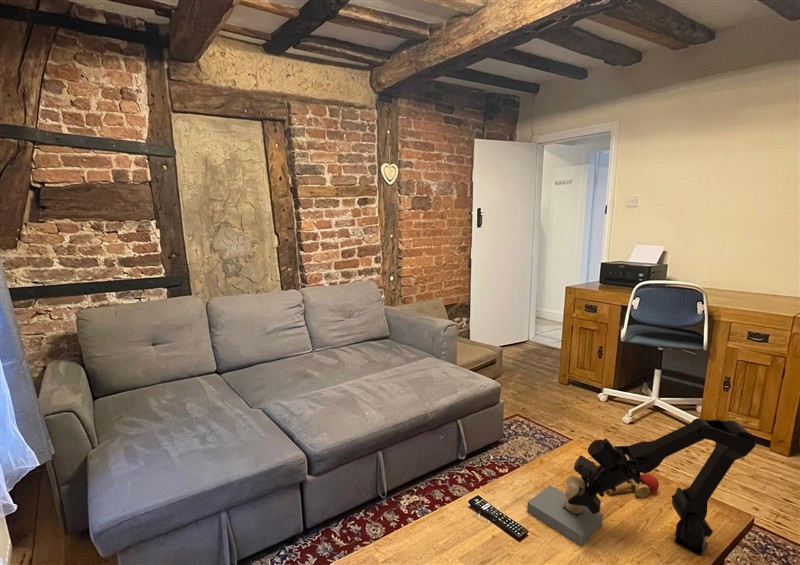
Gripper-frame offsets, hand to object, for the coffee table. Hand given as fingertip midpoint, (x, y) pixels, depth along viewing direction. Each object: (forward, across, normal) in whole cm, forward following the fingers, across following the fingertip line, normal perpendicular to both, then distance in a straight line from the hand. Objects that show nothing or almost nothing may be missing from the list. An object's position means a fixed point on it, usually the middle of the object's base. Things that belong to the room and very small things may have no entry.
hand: (569, 496), depth 131 cm
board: (+6, +1, +4) cm, 7 cm away
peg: (+4, 0, +6) cm, 7 cm away
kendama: (-7, -23, +18) cm, 30 cm away
